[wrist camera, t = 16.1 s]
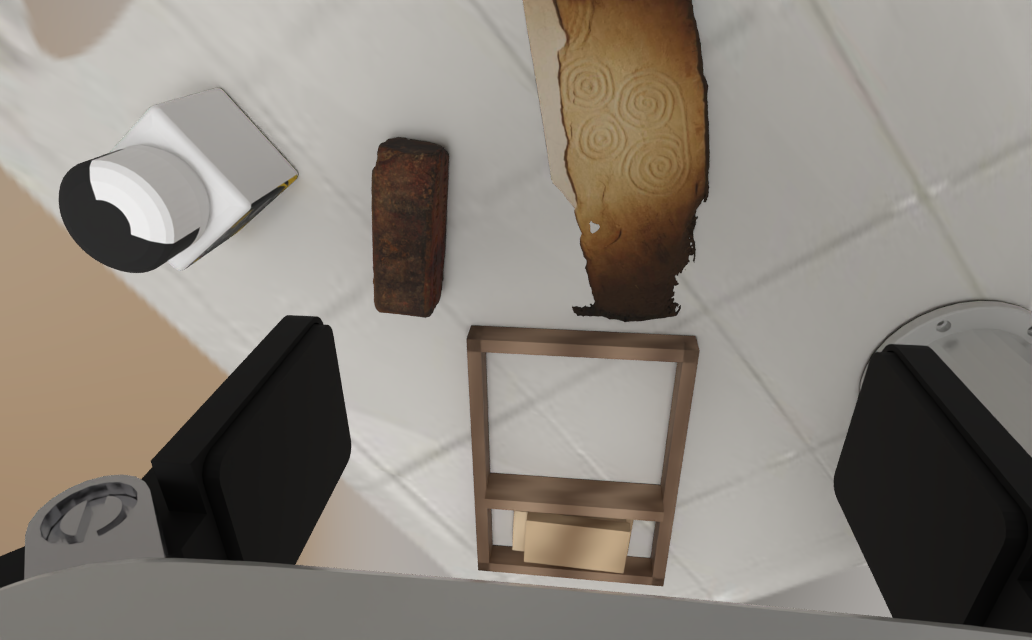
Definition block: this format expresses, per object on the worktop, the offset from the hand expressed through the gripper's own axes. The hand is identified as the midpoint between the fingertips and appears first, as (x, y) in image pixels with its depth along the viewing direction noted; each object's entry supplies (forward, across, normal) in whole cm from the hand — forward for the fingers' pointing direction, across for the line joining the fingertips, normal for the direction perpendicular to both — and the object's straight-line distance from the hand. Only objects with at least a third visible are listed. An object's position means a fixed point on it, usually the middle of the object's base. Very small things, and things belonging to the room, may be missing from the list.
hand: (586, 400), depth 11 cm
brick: (+31, +11, +7) cm, 34 cm away
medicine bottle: (+31, +24, +4) cm, 39 cm away
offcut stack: (+31, 0, +35) cm, 46 cm away
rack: (+30, 0, +27) cm, 41 cm away
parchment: (+31, -2, +2) cm, 31 cm away
